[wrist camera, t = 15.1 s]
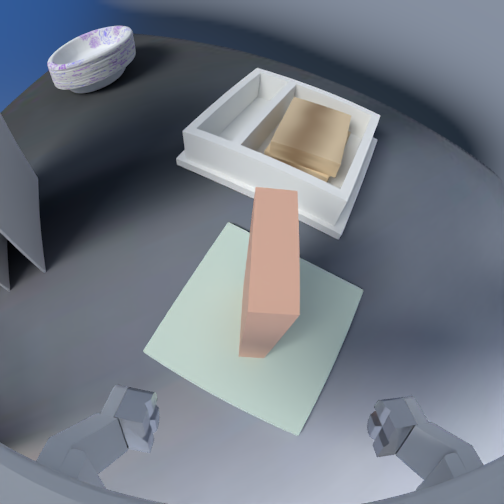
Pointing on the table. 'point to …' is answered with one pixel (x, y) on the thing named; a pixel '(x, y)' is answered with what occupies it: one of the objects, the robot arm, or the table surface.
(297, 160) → the offcut upper
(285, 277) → the terracotta board
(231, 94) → the white divided tray
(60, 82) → the paper bowls
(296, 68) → the table surface
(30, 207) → the brochure
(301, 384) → the sage mat
